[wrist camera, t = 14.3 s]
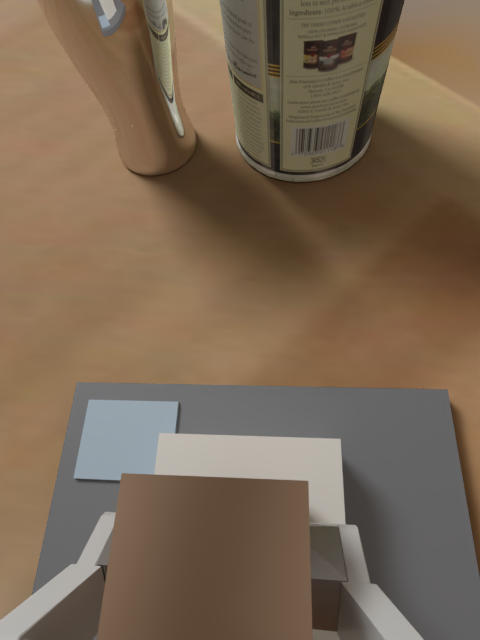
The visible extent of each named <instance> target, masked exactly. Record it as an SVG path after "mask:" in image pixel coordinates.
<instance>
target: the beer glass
mask: <svg viewBox="0 0 480 640" xmlns="http://www.w3.org/2000/svg"><path fill="white" fill-rule="evenodd" d="M37 2H38V4H39V6H40V8H41V10H42V12H43V14H44V16H45V18H46V20H47V21H48V23H49V25H50V27H51V29H52V31H53V33H54V34H55V36H56V38H57V39H58V41H59V42H60V44H61V46H62V47H63V49H64V51H65V52H66V54H67V55H68V57H69V59H70V60H71V62H72V63H73V64H74V66H75V67H76V69H77V70H78V72H79V73H80V75H81V76H82V78H83V79H84V81H85V82H86V84H87V85H88V87H89V88H90V89H91V91H92V92H93V94H94V95H95V97H96V98H97V100H98V101H99V103H100V104H101V106H102V108H103V109H104V111H105V113H106V115H107V117H108V119H109V121H110V124H111V126H112V129H113V132H114V136H115V140H116V145H117V149H118V153H119V156H120V158H121V160H122V162H123V163H124V165H125V166H126V167H127V168H128V169H130V170H131V171H133V172H135V173H138V174H142V175H149V176H155V175H162V174H166V173H169V172H172V171H174V170H176V169H178V168H180V167H181V166H182V165H184V164H185V163H186V162H187V161H188V160H189V159H190V158H191V156H192V155H193V153H194V151H195V148H196V143H197V138H196V133H195V130H194V128H193V125H192V123H191V121H190V119H189V117H188V115H187V112H186V110H185V108H184V105H183V101H182V98H181V93H180V88H179V79H178V67H177V50H176V35H175V22H174V13H173V4H172V0H37Z"/></svg>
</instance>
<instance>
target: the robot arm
mask: <svg viewBox="0 0 480 640" xmlns="http://www.w3.org/2000/svg"><path fill="white" fill-rule="evenodd" d="M115 514H116V512H105V513H104V514H103V515H102V516H101V517H100V519H99V521H98V523H97V525H96V527H95V529H94V531H93V533H92V534H91V536H90V538H89V540H88V542H87V544H86V546H85V548H84V550H83V552H82V554H81V556H80V558H79V560H78V562H77V564H71V565H69V566H68V567H67V568H66V569H64V570H63V571H62V572H61V573H59V574H58V575H57V576H55V577H54V578H53V579H52V580H50V581H49V582H48V583H47V584H45V585H44V586H43V587H42V588H40V589H39V590H38V591H37V592H35V593H34V594H33V595H32V596H30V597H29V598H28V599H27V600H25V601H24V602H23V603H22V604H20V605H19V606H18V607H17V608H15V609H14V610H13V611H11V612H10V613H9V614H8V615H6V616H5V617H4V618H3V619H1V620H0V640H93V638H94V637H95V636H96V635H97V634H98V628H99V621H100V614H101V608H102V601H103V594H104V587H105V581H106V574H107V567H108V561H109V554H110V547H111V541H112V534H113V527H114V521H115ZM309 525H310V562H311V599H312V629H316V630H326V631H335V632H337V635H338V636H339V638H340V640H424V639H423V638H422V637H421V636H420V634H419V633H418V632H417V631H416V630H415V629H414V627H413V626H412V625H411V624H410V623H409V622H408V620H407V619H406V618H405V617H404V616H403V615H402V613H401V612H400V611H399V610H398V609H397V608H396V606H395V605H394V604H393V603H392V602H391V601H390V599H389V598H388V597H387V596H386V595H385V594H384V592H383V591H382V590H381V589H380V588H379V587H378V585H377V584H371V583H370V579H369V574H368V570H367V566H366V561H365V557H364V552H363V548H362V543H361V539H360V534H359V530H358V527H357V526H356V525H346V524H330V523H309Z"/></svg>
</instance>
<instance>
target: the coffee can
mask: <svg viewBox="0 0 480 640" xmlns="http://www.w3.org/2000/svg"><path fill="white" fill-rule="evenodd" d="M403 4H404V0H220V6H221V14H222V22H223V30H224V38H225V46H226V56H227V62H228V70H229V78H230V86H231V95H232V103H233V111H234V118H235V128H236V142H237V147H238V149H239V151H240V153H241V155H242V156H243V158H244V159H245V160H246V161H247V162H248V164H249V165H251V166H253V167H254V168H255V169H257V170H258V171H260V172H262V173H263V174H265V175H267V176H270V177H273V178H275V179H279V180H284V181H290V182H310V181H317V180H322V179H326V178H329V177H332V176H335V175H337V174H339V173H341V172H343V171H345V170H347V169H348V168H350V167H351V166H352V165H353V164H355V163H356V162H357V161H358V160H359V159H360V158H361V157H362V156H363V154H364V153H365V151H366V150H367V148H368V146H369V143H370V140H371V136H372V127H373V123H374V120H375V115H376V111H377V107H378V103H379V99H380V94H381V91H382V87H383V83H384V79H385V76H386V72H387V68H388V63H389V59H390V55H391V51H392V47H393V43H394V39H395V35H396V31H397V27H398V23H399V19H400V15H401V11H402V7H403Z"/></svg>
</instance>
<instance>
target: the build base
mask: <svg viewBox="0 0 480 640" xmlns="http://www.w3.org/2000/svg"><path fill="white" fill-rule="evenodd" d="M122 473H130V474H154V475H179V476H203V477H228V478H253V479H277V480H302V481H308V488H309V523H330V524H346V525H356V526H357V527H358V530H359V534H360V539H361V543H362V548H363V552H364V557H365V561H366V566H367V570H368V574H369V579H370V583H371V584H377V585H378V587H379V588H380V589H381V590H382V591H383V592H384V594H385V595H386V596H387V597H388V598H389V599H390V601H391V602H392V603H393V604H394V605H395V606H396V608H397V609H398V610H399V611H400V612H401V613H402V615H403V616H404V617H405V618H406V619H407V620H408V622H409V623H410V624H411V625H412V626H413V627H414V629H415V630H416V631H417V632H418V633H419V634H420V636H421V637H422V638H423V639H424V640H480V576H479V570H478V565H477V559H476V553H475V547H474V541H473V535H472V530H471V524H470V518H469V512H468V506H467V500H466V494H465V489H464V483H463V477H462V471H461V465H460V459H459V454H458V448H457V442H456V436H455V430H454V424H453V418H452V413H451V407H450V401H449V395H448V390H447V389H395V388H344V387H293V386H241V385H190V384H138V383H87V382H77V384H76V389H75V394H74V398H73V403H72V408H71V413H70V417H69V422H68V427H67V431H66V436H65V441H64V446H63V450H62V455H61V460H60V464H59V469H58V474H57V479H56V483H55V488H54V493H53V497H52V502H51V507H50V512H49V516H48V521H47V526H46V530H45V535H44V540H43V545H42V549H41V554H40V559H39V563H38V568H37V573H36V578H35V582H34V587H33V592H32V595H33V594H34V593H35V592H37V591H38V590H39V589H40V588H42V587H43V586H44V585H45V584H47V583H48V582H49V581H50V580H52V579H53V578H54V577H55V576H57V575H58V574H59V573H61V572H62V571H63V570H64V569H66V568H67V567H68V566H69V565H71V564H77V562H78V560H79V558H80V556H81V554H82V552H83V550H84V548H85V546H86V544H87V542H88V540H89V538H90V536H91V534H92V533H93V531H94V529H95V527H96V525H97V523H98V521H99V519H100V517H101V516H102V515H103V514H104V513H105V512H116V507H117V501H118V494H119V487H120V481H121V474H122ZM312 636H313V640H340V638H339V636H338V635H337V632H335V631H326V630H316V629H312ZM93 640H97V635H96V636H95V637H94V638H93Z"/></svg>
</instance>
